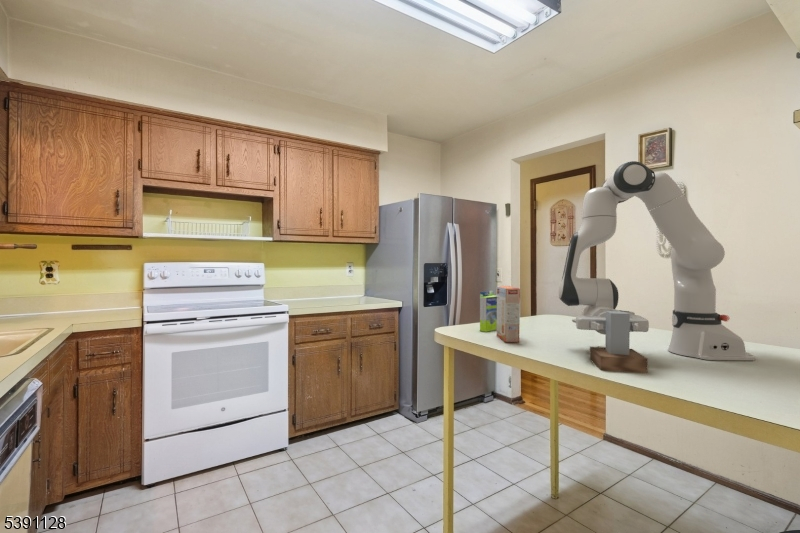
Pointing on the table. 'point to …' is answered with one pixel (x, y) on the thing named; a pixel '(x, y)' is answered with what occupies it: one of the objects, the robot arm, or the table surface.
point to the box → (488, 311)
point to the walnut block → (618, 360)
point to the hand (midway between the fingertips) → (618, 328)
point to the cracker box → (508, 313)
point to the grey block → (617, 332)
